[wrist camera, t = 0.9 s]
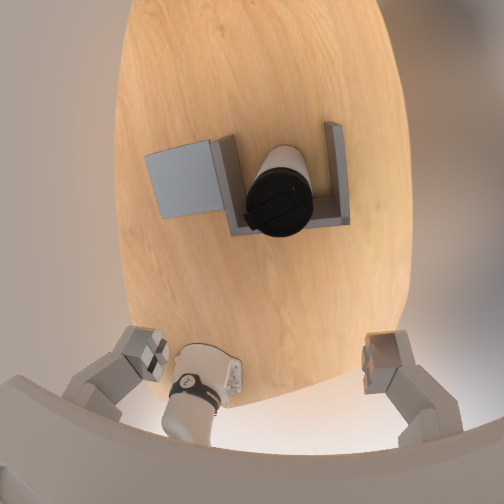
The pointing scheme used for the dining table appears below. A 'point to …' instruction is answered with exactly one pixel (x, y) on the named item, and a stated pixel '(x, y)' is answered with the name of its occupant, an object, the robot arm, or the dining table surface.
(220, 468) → the robot arm
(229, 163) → the grey u-shaped channel
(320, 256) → the dining table surface
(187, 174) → the mat
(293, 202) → the travel mug
